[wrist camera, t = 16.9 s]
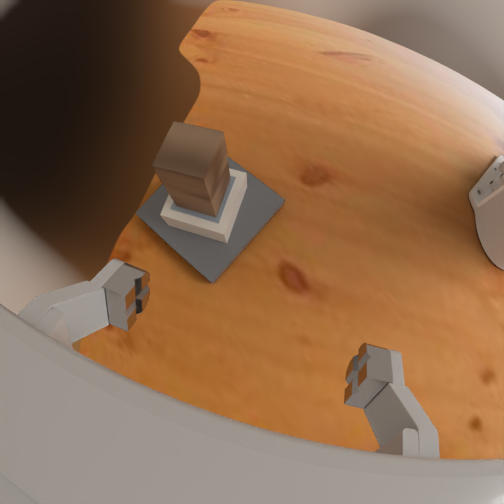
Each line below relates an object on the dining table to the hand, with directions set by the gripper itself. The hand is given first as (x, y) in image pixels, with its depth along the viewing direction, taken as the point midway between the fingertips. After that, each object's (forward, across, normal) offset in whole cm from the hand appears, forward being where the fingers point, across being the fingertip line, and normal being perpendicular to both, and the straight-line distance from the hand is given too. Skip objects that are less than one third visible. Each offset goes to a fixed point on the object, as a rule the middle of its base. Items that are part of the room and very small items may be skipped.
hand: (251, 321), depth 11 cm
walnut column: (+25, +10, +8) cm, 28 cm away
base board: (+29, +10, +12) cm, 33 cm away
